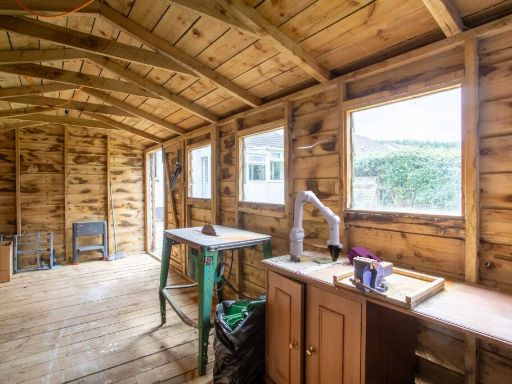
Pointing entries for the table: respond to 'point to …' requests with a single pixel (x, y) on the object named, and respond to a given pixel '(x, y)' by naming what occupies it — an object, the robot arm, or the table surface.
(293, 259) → the dog
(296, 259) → the dog
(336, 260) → the dowel
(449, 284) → the table surface
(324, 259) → the tray
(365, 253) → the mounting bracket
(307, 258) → the plate
